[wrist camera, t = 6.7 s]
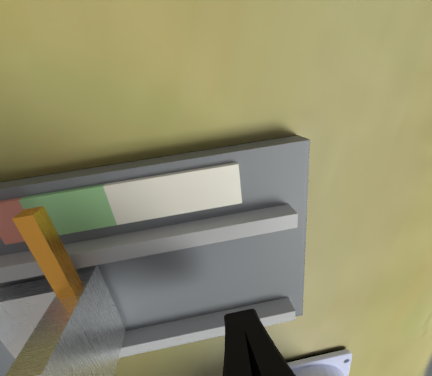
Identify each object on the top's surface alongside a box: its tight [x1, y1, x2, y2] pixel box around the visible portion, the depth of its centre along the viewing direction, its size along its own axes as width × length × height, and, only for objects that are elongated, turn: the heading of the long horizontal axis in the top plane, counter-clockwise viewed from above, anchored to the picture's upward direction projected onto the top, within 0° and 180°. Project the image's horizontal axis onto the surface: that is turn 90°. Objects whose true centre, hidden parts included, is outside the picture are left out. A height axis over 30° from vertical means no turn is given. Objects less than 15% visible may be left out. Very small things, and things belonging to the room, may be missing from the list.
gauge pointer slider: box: [0, 206, 126, 376], centre depth 9 cm, size 9×5×5 cm, turn 7°
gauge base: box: [0, 135, 310, 376], centre depth 11 cm, size 12×21×6 cm, turn 97°
